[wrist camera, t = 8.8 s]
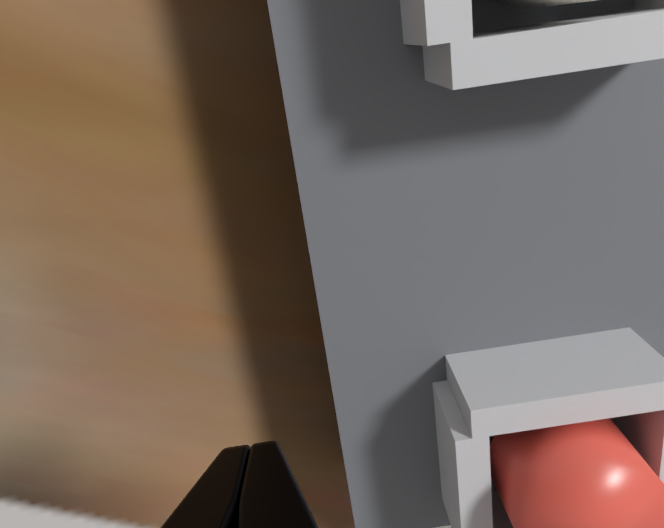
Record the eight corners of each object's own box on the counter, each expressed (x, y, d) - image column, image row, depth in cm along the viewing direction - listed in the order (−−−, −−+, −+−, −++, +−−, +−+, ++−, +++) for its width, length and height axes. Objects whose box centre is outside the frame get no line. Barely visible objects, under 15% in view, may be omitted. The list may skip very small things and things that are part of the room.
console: (348, 465, 25) (365, 613, 19) (242, -184, 16) (203, -331, 10) (656, 418, 25) (779, 550, 19) (723, -258, 16) (1007, -453, 10)
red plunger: (489, 511, 20) (523, 595, 17) (485, 408, 18) (521, 482, 15) (613, 492, 20) (669, 573, 17) (620, 388, 18) (683, 457, 15)
